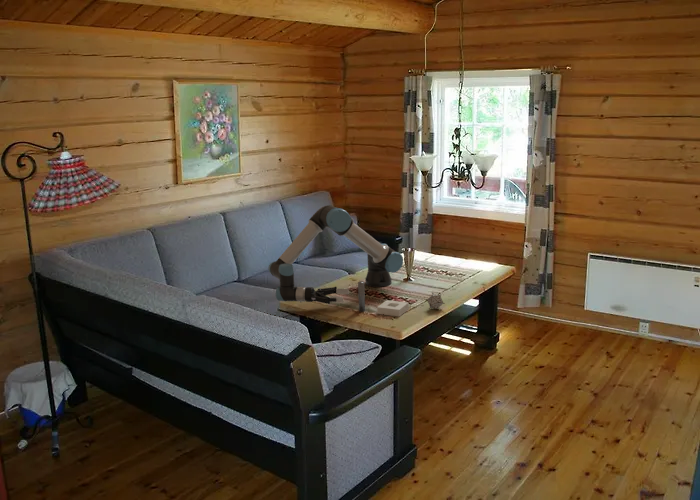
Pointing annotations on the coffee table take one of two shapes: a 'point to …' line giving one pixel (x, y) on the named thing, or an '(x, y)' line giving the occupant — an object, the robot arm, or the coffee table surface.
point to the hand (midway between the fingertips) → (345, 295)
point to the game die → (435, 301)
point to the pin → (361, 296)
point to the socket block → (393, 308)
